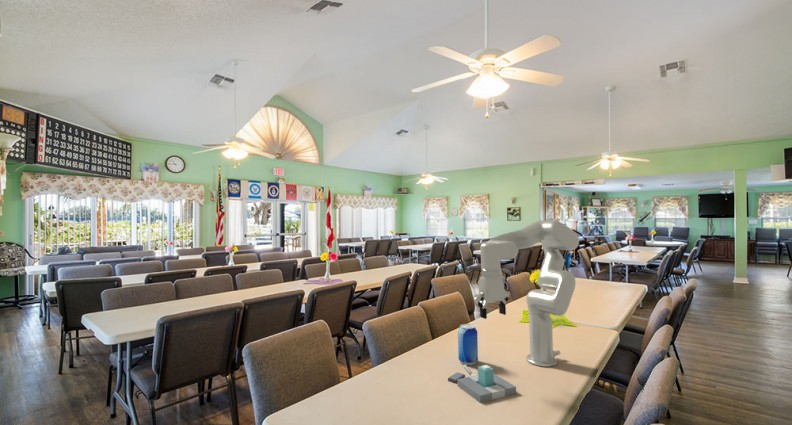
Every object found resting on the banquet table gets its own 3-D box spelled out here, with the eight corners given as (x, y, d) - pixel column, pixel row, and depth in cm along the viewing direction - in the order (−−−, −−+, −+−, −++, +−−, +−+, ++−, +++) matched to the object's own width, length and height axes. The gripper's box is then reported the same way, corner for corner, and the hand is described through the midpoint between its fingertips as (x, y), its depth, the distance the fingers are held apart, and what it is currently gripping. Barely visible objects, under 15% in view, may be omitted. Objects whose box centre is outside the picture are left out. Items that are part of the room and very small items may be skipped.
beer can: (466, 367, 151) (466, 329, 152) (454, 360, 159) (454, 325, 159) (481, 363, 155) (481, 327, 156) (469, 357, 163) (469, 322, 163)
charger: (486, 386, 134) (486, 363, 134) (493, 390, 130) (493, 367, 131) (478, 388, 132) (478, 365, 133) (485, 392, 129) (484, 369, 129)
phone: (457, 374, 144) (457, 372, 144) (465, 377, 142) (465, 374, 142) (448, 380, 139) (447, 377, 139) (455, 383, 136) (455, 380, 136)
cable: (463, 367, 151) (463, 364, 151) (465, 367, 152) (465, 364, 152) (472, 378, 141) (472, 375, 141) (475, 378, 141) (475, 375, 141)
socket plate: (491, 377, 141) (491, 371, 141) (516, 393, 128) (516, 386, 128) (457, 385, 134) (457, 379, 135) (480, 402, 122) (479, 395, 122)
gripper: (501, 269, 149) (503, 310, 149) (467, 274, 142) (469, 317, 141) (514, 272, 142) (516, 314, 142) (479, 277, 135) (482, 322, 135)
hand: (493, 315), depth 142 cm, fingers open, 9 cm apart
